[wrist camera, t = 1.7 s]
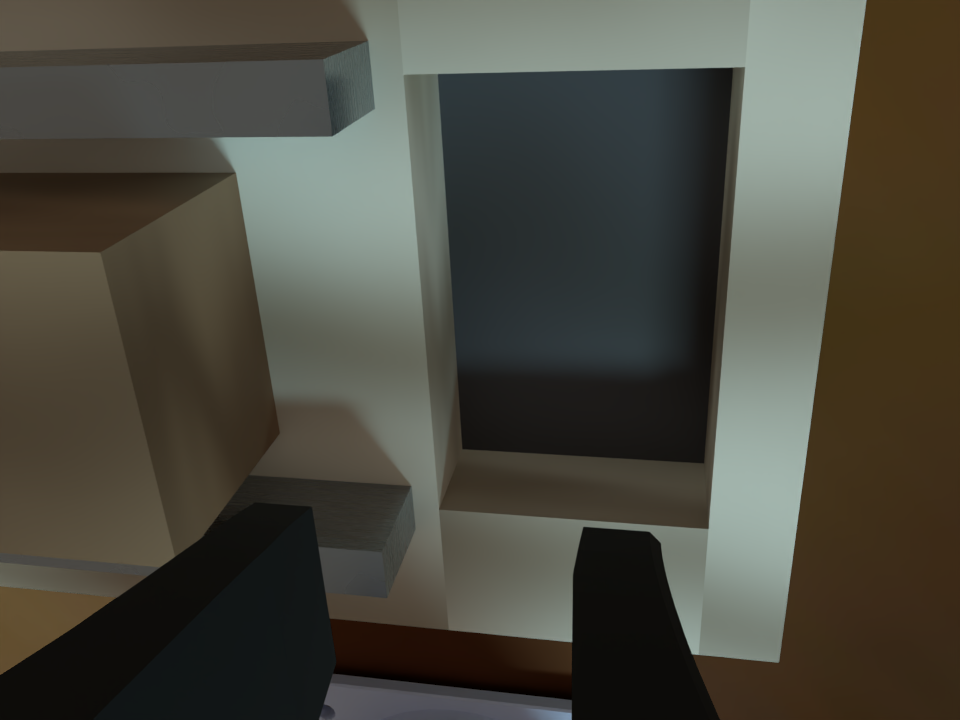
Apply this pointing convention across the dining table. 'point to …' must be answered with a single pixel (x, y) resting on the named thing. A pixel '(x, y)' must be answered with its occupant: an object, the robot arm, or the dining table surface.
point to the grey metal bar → (215, 114)
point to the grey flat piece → (530, 283)
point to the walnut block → (126, 363)
